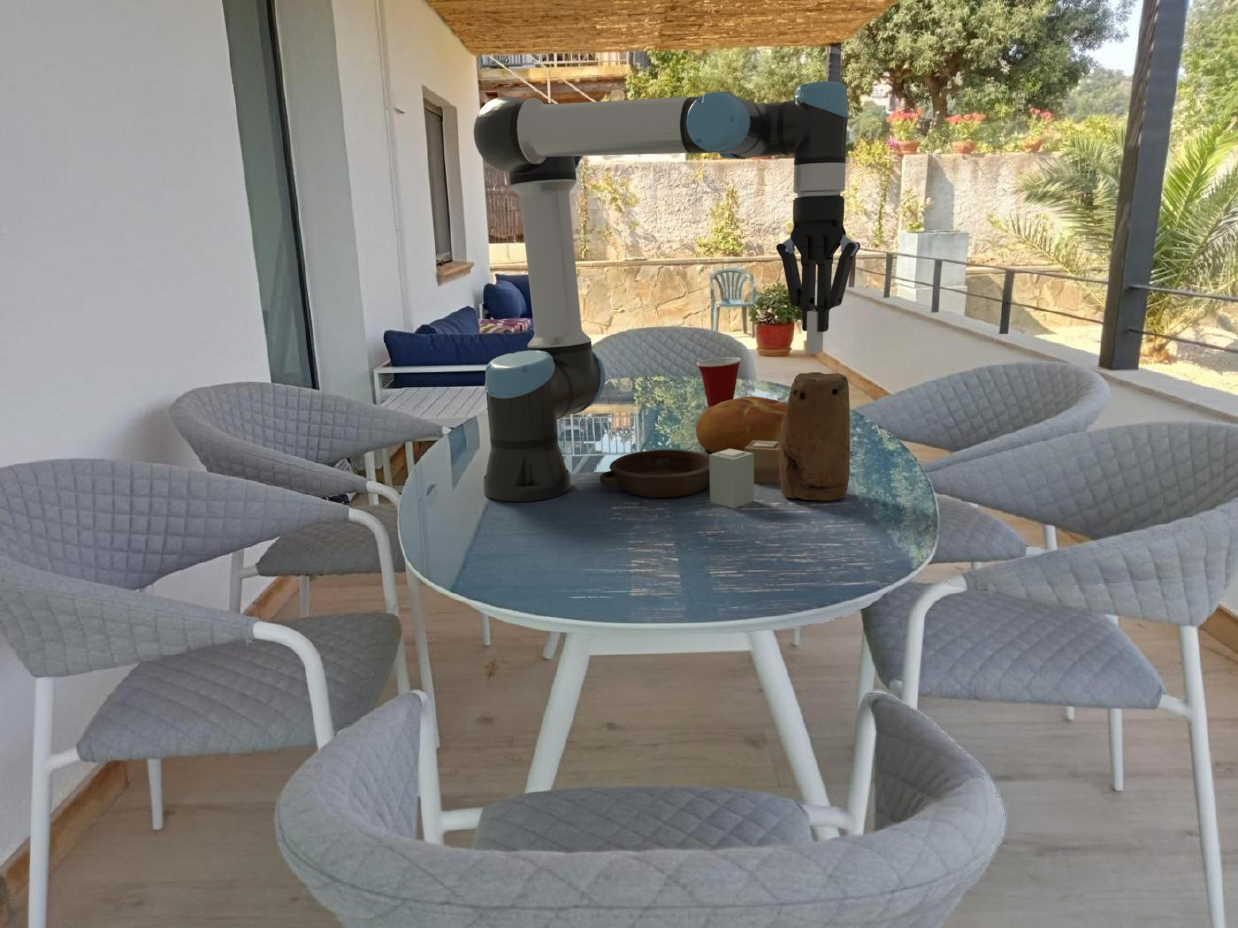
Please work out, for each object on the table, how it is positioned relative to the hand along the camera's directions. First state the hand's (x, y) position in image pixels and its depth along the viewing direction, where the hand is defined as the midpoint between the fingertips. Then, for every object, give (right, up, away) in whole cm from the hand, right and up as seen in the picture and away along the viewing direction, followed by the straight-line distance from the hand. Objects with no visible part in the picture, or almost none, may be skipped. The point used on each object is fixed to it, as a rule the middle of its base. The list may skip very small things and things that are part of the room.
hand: (814, 352), depth 137 cm
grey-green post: (-12, -24, +5) cm, 27 cm away
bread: (-3, -15, +39) cm, 41 cm away
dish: (-23, -22, +14) cm, 35 cm away
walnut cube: (-5, -20, +18) cm, 27 cm away
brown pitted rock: (+1, -23, +6) cm, 24 cm away
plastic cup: (-6, -4, +78) cm, 79 cm away
